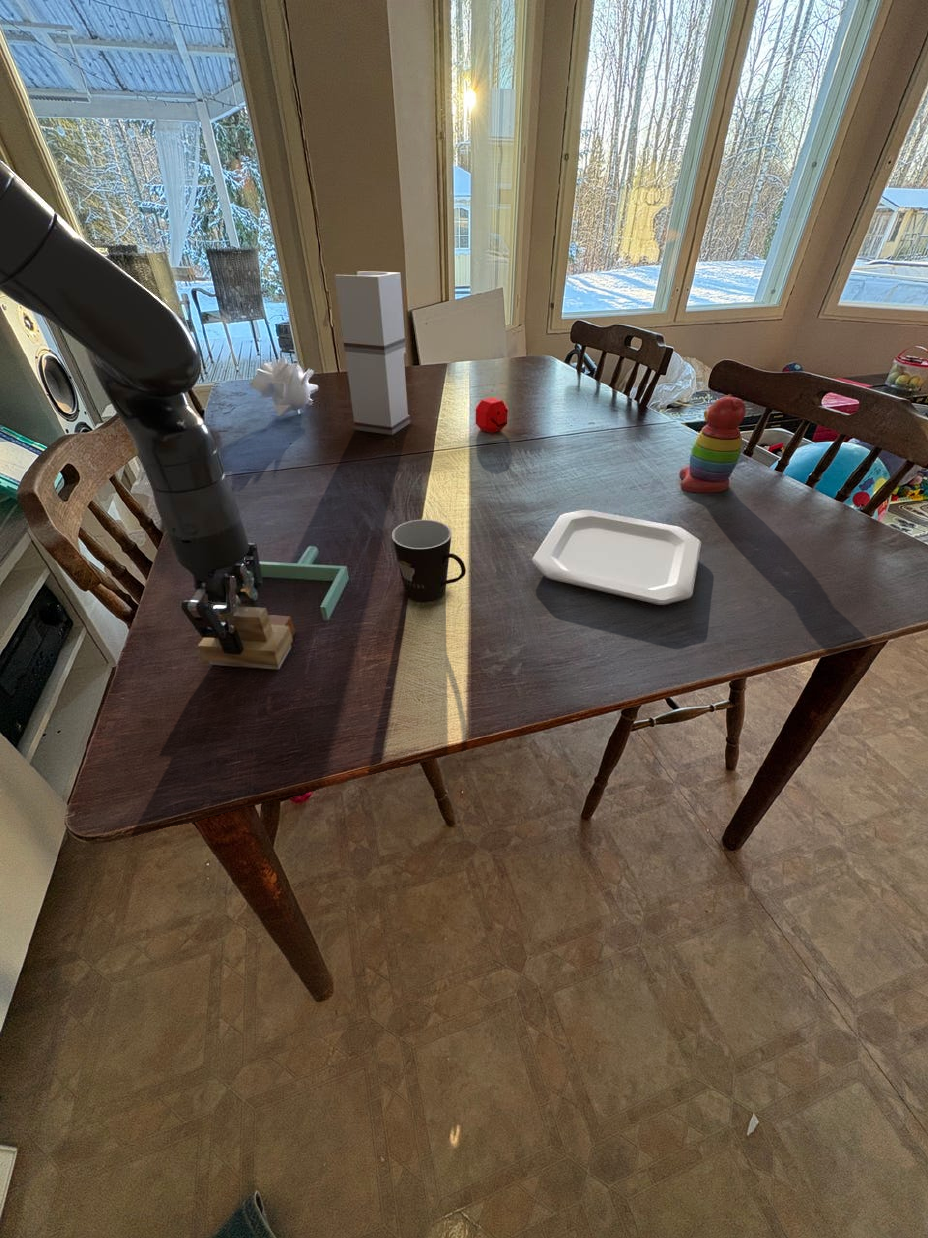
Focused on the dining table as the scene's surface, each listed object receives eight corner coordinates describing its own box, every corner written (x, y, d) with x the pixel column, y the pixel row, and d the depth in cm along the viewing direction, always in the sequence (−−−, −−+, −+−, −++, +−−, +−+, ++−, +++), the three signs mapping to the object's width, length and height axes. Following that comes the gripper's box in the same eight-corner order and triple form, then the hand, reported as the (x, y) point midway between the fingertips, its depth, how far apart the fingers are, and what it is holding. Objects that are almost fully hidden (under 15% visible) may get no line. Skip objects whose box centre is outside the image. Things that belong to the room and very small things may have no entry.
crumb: (287, 647, 69) (282, 630, 68) (265, 645, 70) (260, 628, 68) (295, 633, 72) (290, 616, 70) (274, 631, 72) (269, 615, 70)
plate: (523, 581, 82) (524, 569, 80) (564, 515, 99) (566, 504, 98) (686, 620, 74) (690, 608, 72) (700, 541, 91) (703, 530, 90)
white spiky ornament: (310, 373, 136) (263, 333, 133) (278, 426, 142) (233, 389, 140) (336, 377, 154) (295, 341, 152) (306, 423, 160) (267, 390, 158)
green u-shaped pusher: (328, 621, 74) (325, 607, 72) (225, 614, 75) (220, 600, 74) (358, 559, 87) (356, 546, 85) (270, 554, 88) (267, 542, 87)
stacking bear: (678, 471, 116) (700, 387, 105) (726, 476, 113) (754, 391, 102) (680, 491, 108) (704, 402, 96) (731, 496, 105) (763, 407, 94)
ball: (490, 436, 134) (491, 406, 129) (470, 429, 138) (470, 399, 134) (512, 430, 138) (513, 400, 133) (491, 422, 143) (492, 394, 138)
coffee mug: (390, 582, 81) (383, 526, 75) (440, 570, 84) (437, 515, 78) (416, 624, 73) (411, 565, 67) (470, 608, 76) (470, 550, 70)
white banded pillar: (410, 422, 143) (400, 272, 121) (392, 434, 135) (377, 276, 114) (375, 418, 146) (358, 270, 125) (355, 429, 139) (334, 274, 117)
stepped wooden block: (294, 645, 69) (282, 601, 64) (280, 671, 65) (266, 626, 61) (224, 640, 70) (207, 596, 65) (206, 666, 66) (186, 620, 61)
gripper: (202, 488, 61) (241, 603, 72) (128, 550, 50) (187, 674, 60) (263, 491, 60) (293, 606, 71) (201, 554, 49) (248, 679, 60)
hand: (244, 637), depth 66 cm, fingers closed on stepped wooden block, 5 cm apart
